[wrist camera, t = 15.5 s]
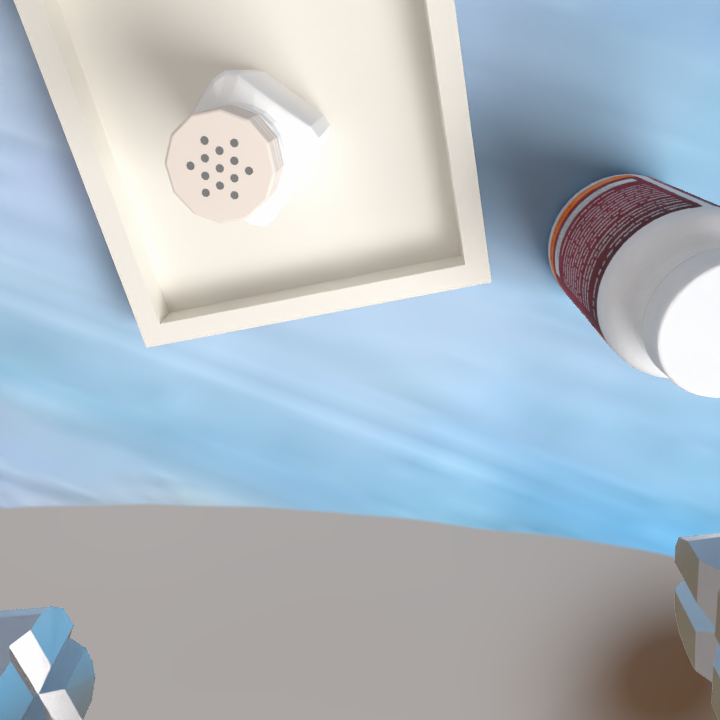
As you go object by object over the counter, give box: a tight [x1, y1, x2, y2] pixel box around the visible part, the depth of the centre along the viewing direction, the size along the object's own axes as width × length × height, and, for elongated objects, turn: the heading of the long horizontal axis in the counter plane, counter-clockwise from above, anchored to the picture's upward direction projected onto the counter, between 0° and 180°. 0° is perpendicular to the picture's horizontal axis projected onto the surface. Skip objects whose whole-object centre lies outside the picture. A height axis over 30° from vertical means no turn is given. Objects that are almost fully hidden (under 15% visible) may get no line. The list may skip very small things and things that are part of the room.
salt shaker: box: [165, 70, 331, 226], centre depth 23 cm, size 4×4×10 cm
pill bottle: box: [548, 174, 720, 398], centre depth 24 cm, size 6×6×11 cm
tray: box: [14, 0, 491, 348], centre depth 26 cm, size 16×16×2 cm
